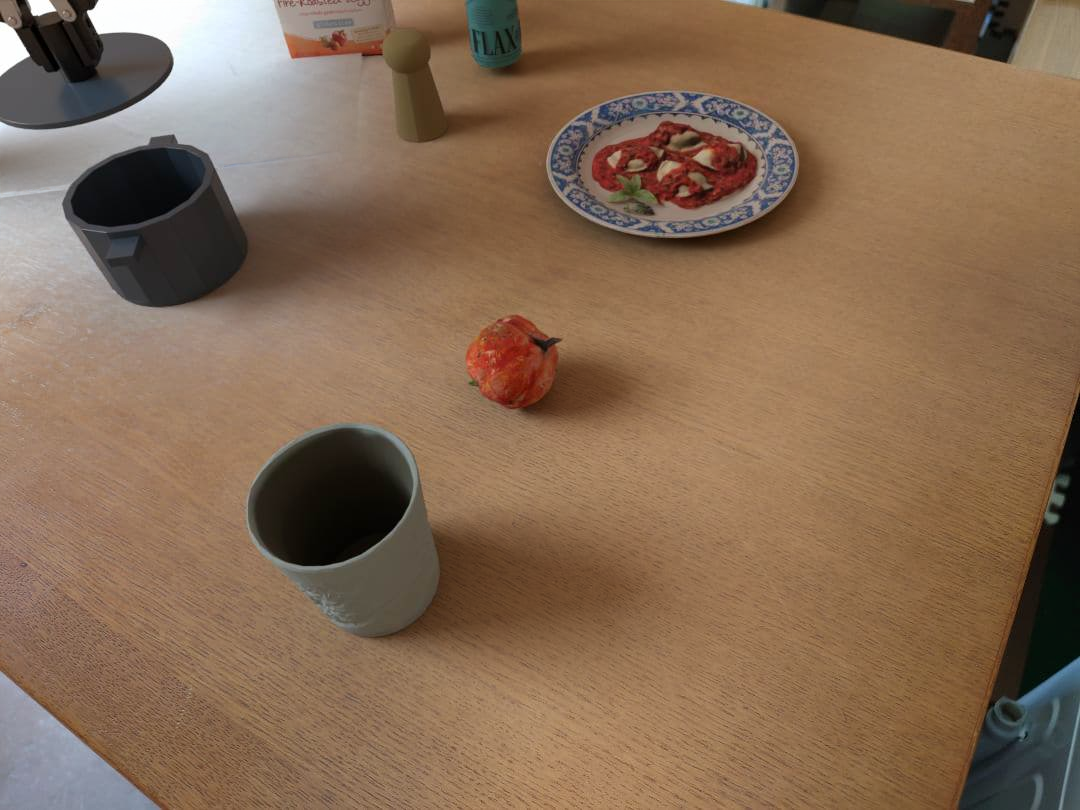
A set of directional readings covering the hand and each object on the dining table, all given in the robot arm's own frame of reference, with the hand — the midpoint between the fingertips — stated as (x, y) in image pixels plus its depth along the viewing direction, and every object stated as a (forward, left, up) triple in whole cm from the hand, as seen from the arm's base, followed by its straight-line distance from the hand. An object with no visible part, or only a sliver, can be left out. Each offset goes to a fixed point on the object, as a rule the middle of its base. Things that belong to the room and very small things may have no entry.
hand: (74, 64), depth 63 cm
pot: (0, 0, -20) cm, 20 cm away
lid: (0, 0, -1) cm, 1 cm away
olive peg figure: (+25, +19, -20) cm, 37 cm away
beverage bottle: (+35, +31, -20) cm, 51 cm away
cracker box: (+15, +41, -20) cm, 48 cm away
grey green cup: (+21, -39, -20) cm, 49 cm away
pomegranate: (+32, -23, -20) cm, 45 cm away
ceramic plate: (+51, +4, -20) cm, 55 cm away
